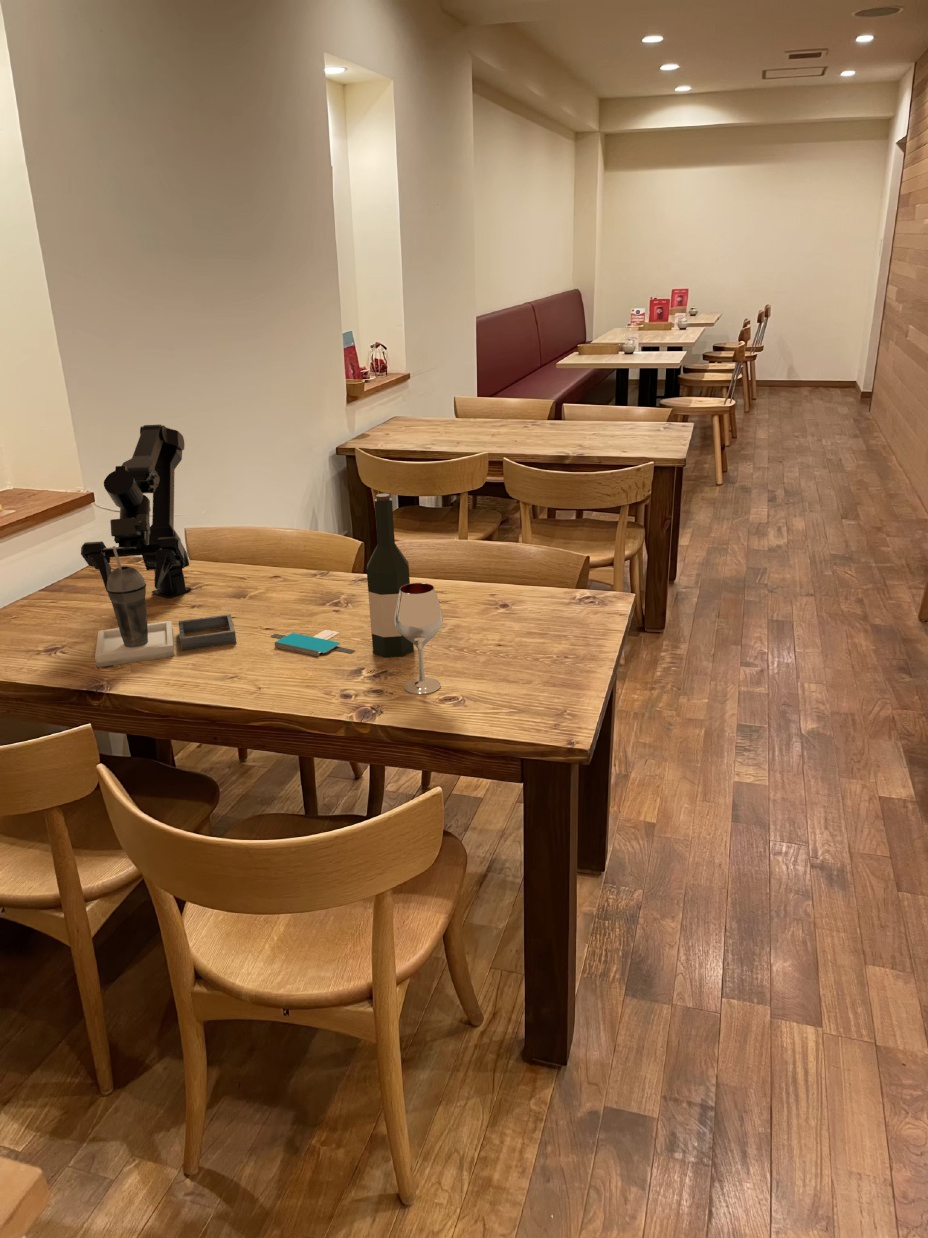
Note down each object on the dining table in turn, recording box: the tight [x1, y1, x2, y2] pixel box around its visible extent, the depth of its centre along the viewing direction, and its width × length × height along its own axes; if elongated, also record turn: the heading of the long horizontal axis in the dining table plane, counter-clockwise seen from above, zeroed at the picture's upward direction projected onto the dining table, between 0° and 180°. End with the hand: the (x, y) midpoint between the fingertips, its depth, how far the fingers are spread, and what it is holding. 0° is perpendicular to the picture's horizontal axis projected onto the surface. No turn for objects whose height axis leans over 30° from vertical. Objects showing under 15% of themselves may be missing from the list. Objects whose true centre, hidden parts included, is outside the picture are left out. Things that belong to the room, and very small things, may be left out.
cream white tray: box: [94, 620, 175, 668], centre depth 176 cm, size 14×14×2 cm
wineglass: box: [394, 582, 444, 695], centre depth 152 cm, size 8×8×18 cm
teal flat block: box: [270, 629, 356, 657], centre depth 176 cm, size 20×12×2 cm, turn 60°
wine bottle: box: [366, 493, 415, 659], centre depth 166 cm, size 8×8×30 cm
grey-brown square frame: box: [178, 613, 237, 652], centre depth 180 cm, size 10×10×2 cm
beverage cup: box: [105, 545, 148, 647], centre depth 173 cm, size 7×7×20 cm
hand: (132, 589), depth 176 cm, fingers open, 9 cm apart
